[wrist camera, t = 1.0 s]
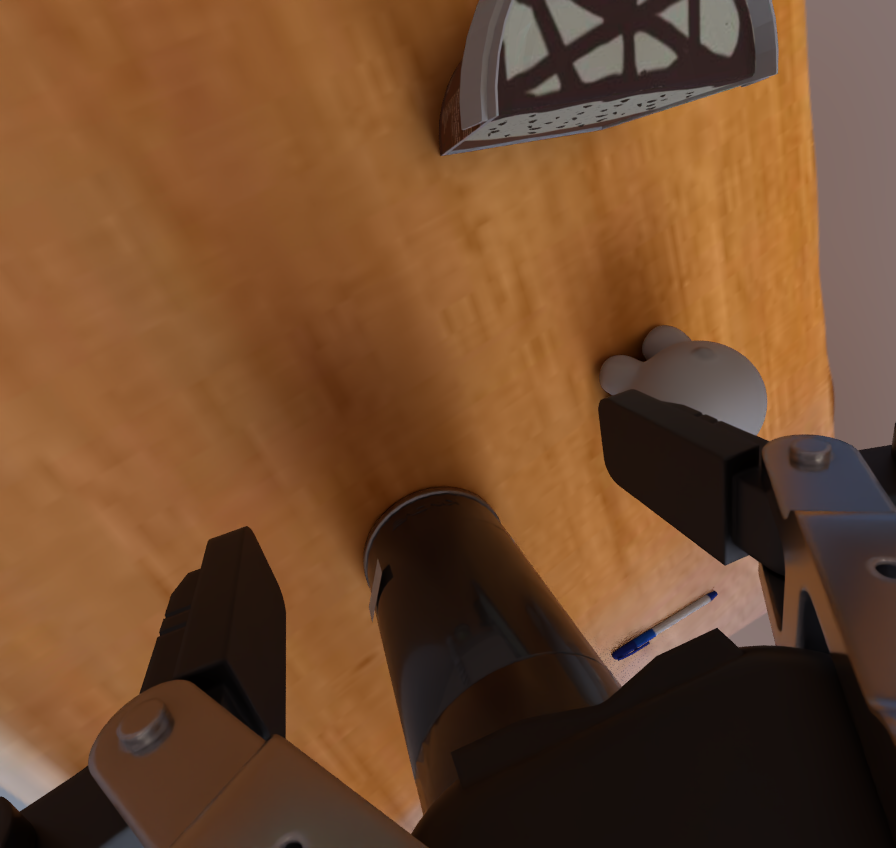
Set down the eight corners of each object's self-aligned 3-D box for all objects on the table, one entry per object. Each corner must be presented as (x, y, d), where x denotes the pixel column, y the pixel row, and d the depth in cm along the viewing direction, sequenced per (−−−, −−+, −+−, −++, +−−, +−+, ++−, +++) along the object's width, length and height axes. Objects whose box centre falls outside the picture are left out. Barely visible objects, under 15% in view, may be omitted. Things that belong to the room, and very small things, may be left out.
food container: (623, -14, 25) (807, -152, 16) (627, 125, 28) (789, 71, 19) (385, 10, 23) (449, -137, 14) (412, 160, 25) (481, 118, 16)
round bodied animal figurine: (626, 501, 37) (714, 570, 29) (579, 359, 32) (671, 398, 24) (707, 453, 38) (814, 508, 30) (673, 306, 33) (792, 328, 25)
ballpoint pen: (612, 657, 43) (619, 666, 42) (609, 651, 42) (616, 660, 41) (713, 592, 44) (722, 599, 43) (711, 585, 43) (720, 592, 42)
